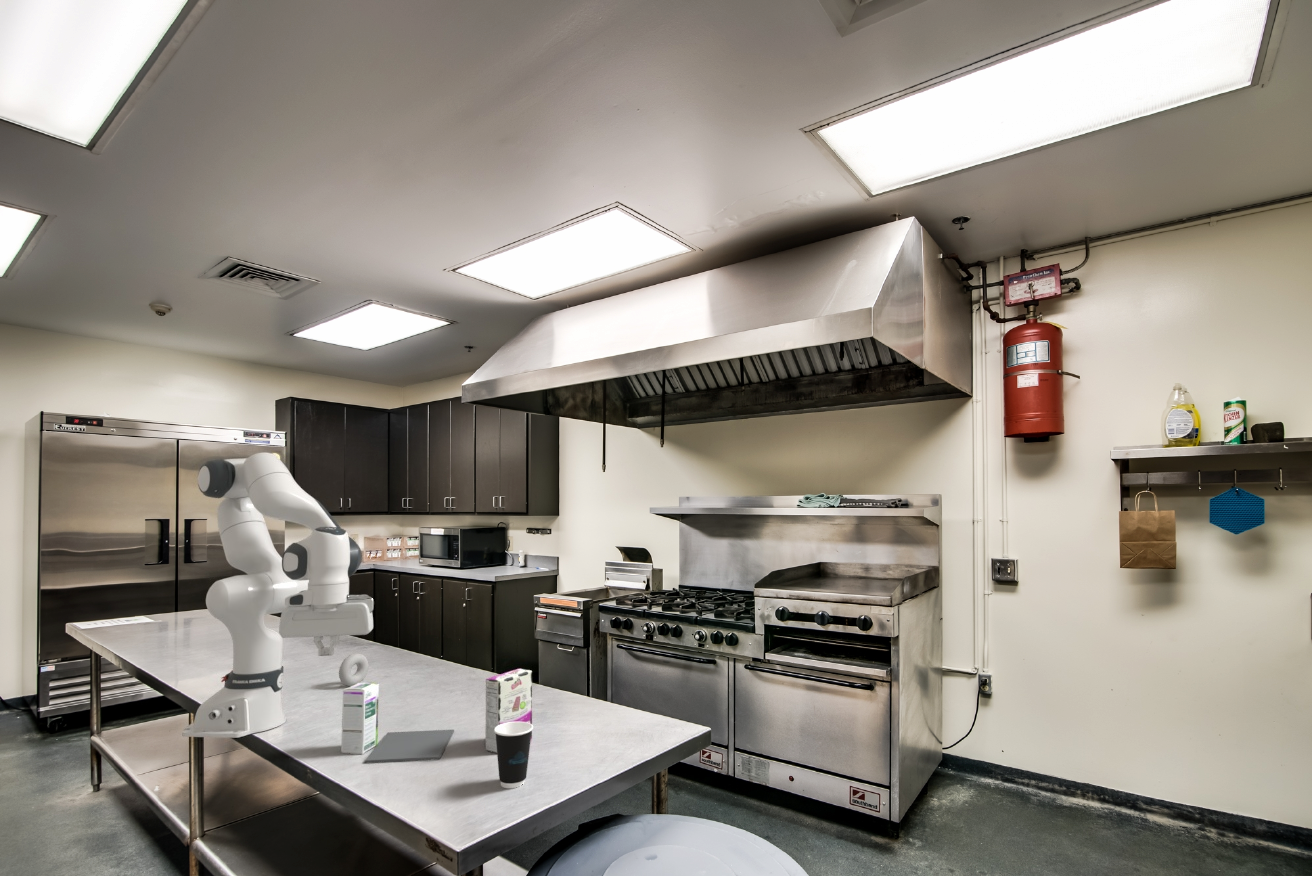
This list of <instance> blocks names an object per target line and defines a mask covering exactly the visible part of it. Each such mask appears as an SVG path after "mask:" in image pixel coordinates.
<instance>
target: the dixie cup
mask: <svg viewBox="0 0 1312 876" xmlns="http://www.w3.org/2000/svg"><path fill="white" fill-rule="evenodd" d="M533 730H534V725H533V723H532V724H530V723H527V722H507V723H503V724H500V725H498V726H496V727H495V729H494V732H495V733H496V745H497V753H496V754H497V765H498V766H497V767H498V768H497V769H498V778H499V779H498V780H499V781H500V786H501V787H502V788H503V789H516V787H517V788H519V787H518V786H520V787H522V786H523V785H524V784H525V783H524V782H525V781H526V779H527V775H528V774H527V773H528V765H529V757H530V756H529V755H530V750H531V749H530V748H531V741H532V739H531V732H532V733H533ZM522 784H523V785H522ZM521 785H522V786H521Z"/></svg>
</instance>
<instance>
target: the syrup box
mask: <svg viewBox="0 0 1312 876" xmlns="http://www.w3.org/2000/svg"><path fill="white" fill-rule="evenodd" d="M379 685H380V684H379V683H378V682H377V683H376V682H368V681H367V682H360V683H357V684H356V685H353V686H348V687H347V688H344V689H343V690H342V710H341V712H342V713H341V748H340V752H341V753H342V754H349V753H350V754H352V755H364V754H365V753H366V752H368V751H369V750H371V749H373V748H376V746H377V745H378V737H379V736H378V735H379V733H378V731H379V730H378V729H379V727H378V726H379V698H380V697H379V693H380V690H379V689H380V686H379Z"/></svg>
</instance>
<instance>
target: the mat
mask: <svg viewBox="0 0 1312 876" xmlns="http://www.w3.org/2000/svg"><path fill="white" fill-rule="evenodd" d="M454 733H455V729H438V730H437V729H436V730H414V731H413V730H412V731H394V732H393V731H391V732H390V731H389V732H386V734H385V735H384V737H383V738H382V739H381V740H380V742H379V743H377V746H375V747H374V749H373V750H372V751H371V752H370V753H369V755H368V756H367V757H366V758H365V760H364V764H376V763H378V764H379V763H380V764H381V763H396V762H399V763H401V762H416V761H418V760H420V761H432V760H431V759H441V758H440V757H442V756H443V754H442V753H444V752H445V750H446V749H447V746H448V745H449V742H450V740H451V738H452V736H453V735H454ZM441 755H442V756H441ZM418 762H419V761H418Z"/></svg>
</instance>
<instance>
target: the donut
mask: <svg viewBox="0 0 1312 876" xmlns="http://www.w3.org/2000/svg"><path fill="white" fill-rule="evenodd" d="M354 665H356V671H355V672H354V673H353V674H352V673H351V671H352V667H354ZM368 671H369V661H368V659H367V657H366V656H365V655H364V654H362V653H356V652H355V653H352V654H349V655H348V656H346V658H344V659H343V660H342V662H341V663H340V666H339V669H338V677H339V680H340V682H341V683H342V684H343V685H344V686H346V687H351V686H353V685H356V684H357V683H362V681H364V679H366V677H367V674H368Z"/></svg>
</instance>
